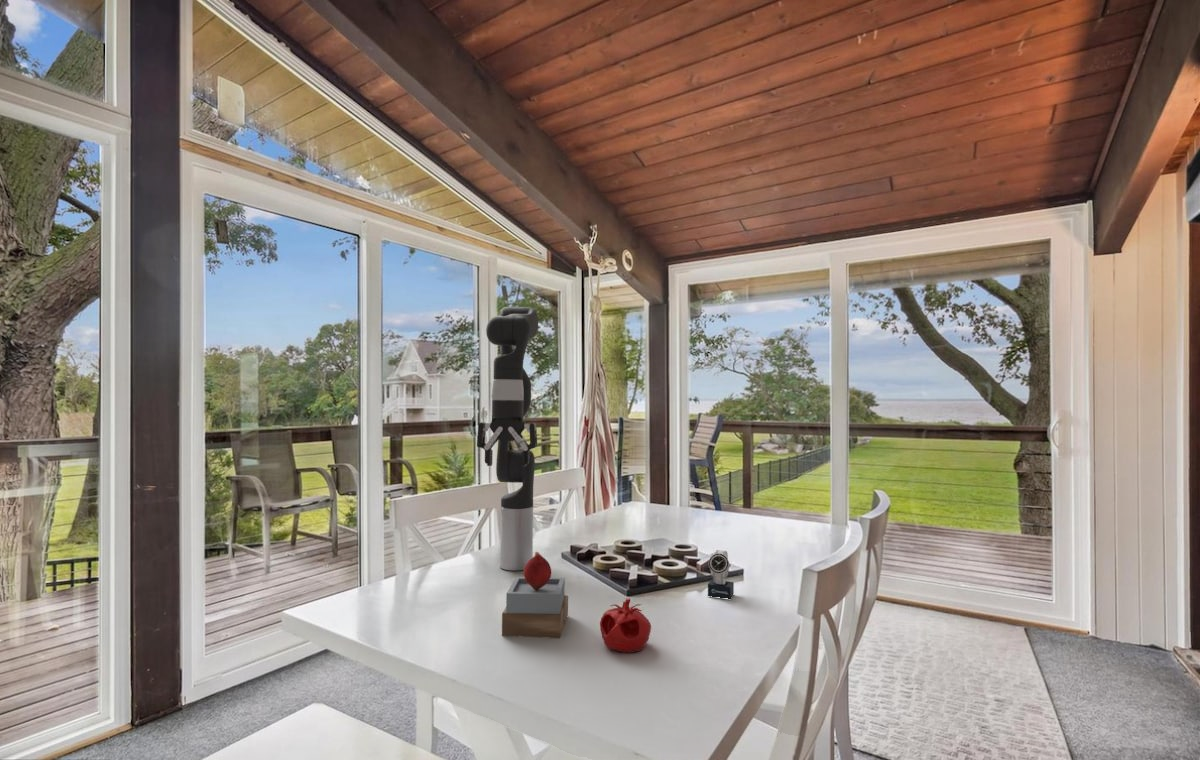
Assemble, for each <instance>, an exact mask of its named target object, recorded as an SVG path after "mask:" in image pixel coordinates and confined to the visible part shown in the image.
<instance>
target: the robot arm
mask: <svg viewBox="0 0 1200 760" xmlns="http://www.w3.org/2000/svg"><path fill="white" fill-rule="evenodd" d="M538 328H539V315H538V311H536V309H535V308H533V307H529V306H504V307H502V309H501V310H500V314H499V315H493V316H492V317H491V318H490V319H489V320H488V322H487V324H486V329H485V330H486V331H485V333H486V337H487V340H488V341H489V342H490V343H491V344H492V345H495V346H500V355H497V356H495V357H494V360H493V381H492V390H491V422H490V423H489V422H488V423H487V422H485V421H483V422H479V423H478V427H477V437H476V438H477V440H476V447H477V448H480V449H483V450H484V463H485V464H486V466H487V467H492V466H493V455H494V454H493V449H492V448H493V447H494V446H495V444H496V443H497V453H496V454H497V455H496V465H495V469H496V470H495V471H496V472H495V474H496V478H497V481H498V482H500V483H515V484H516V483H522V486H521V487H519V488H518V489H517V490H515V491H513V492H510V493H507V494H504V495H503V496H502V497H501V499H500V543H499V544H500V550H499V552H500V553H499V556H500V558H499V567H500V568H501V569H502V570H506V571H514V572H515V571H524V568H525V565H526V564H527V562H528V561H529V560H530V559H531V558H533V557H534V556H533V555H534V554H533V551H534V547H533V546H534V545H533V543H534V542H533V541H534V540H533V539H534V484H535V483H534V478H535V468H536V462H535V454H534V452H533V451H532V450H533V449H535V448H537V447H538V433H537V431H538V430H537V423H536V422H531V423H525V422H524V417H526V415H527V413H528V411H529V409H530V407H531V404H532V381H531V379H530V377H529V375H528V373H527V372H526V370H525V369H524V359H525V354H526V350H527V347H528V343H529V340H530V339H531V338H534V337H535V336H536V335H537V332H538V330H539V329H538ZM513 346H515V348H513ZM489 429H490V431H491V432H492V433H493V434H492V435H491V436H490V438H489V439H488V441H487V442H486V433H487V432H488V430H489ZM525 429H526V432H528V433H529V443H528V442H527V441H526V438H525V437H524V435H523V434H522V433H523V432H524V430H525ZM514 441H516V443H517V444H518V446H520V447H521V448H522V449H521V450H519V449H518V450H516V449H515V450H512V449H510V443H511V442H514Z"/></svg>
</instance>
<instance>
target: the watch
mask: <svg viewBox="0 0 1200 760" xmlns="http://www.w3.org/2000/svg"><path fill="white" fill-rule="evenodd" d="M708 568H709V570H710V574H711V576H712V578H711V579H710V581H709V582H708V584H707V597H708V596H712V597H720V598H728V599H731V600H732V598H733V597H732V595H733V594H734V593H735V591H734V582H733V581H728V580H727V579H728V575H729V568H732V564H731V563H729V555H728V551H727V550H719V549H718V550H717V549H716V551H714V552H713V553H712V555H711V556H710V558H709V560H708ZM733 596H734V595H733ZM731 597H732V598H731Z"/></svg>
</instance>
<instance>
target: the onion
mask: <svg viewBox="0 0 1200 760" xmlns="http://www.w3.org/2000/svg"><path fill="white" fill-rule="evenodd" d="M534 552H535V553H534V556H533V557H532V558H531V559H530V560H529V561H528V562H527V564H526V565H525V568H524V570H523V577H525V580H526V581H527V582H528V584H529V585H530V586H531V587H532V588H533V589H534V590H538V589H540V588H541V587H543V586H544V585H545V584H546V583H547V582H548V581H549V579H550V578H552V568H551V565H550V563H549V561H548V560H547V559H546V558H545V557H543V555H541V554H540V552H539V551H534Z"/></svg>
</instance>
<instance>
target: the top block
mask: <svg viewBox="0 0 1200 760" xmlns="http://www.w3.org/2000/svg"><path fill="white" fill-rule="evenodd" d="M565 581H566V579H565V577H550V579H549V581H548V582H547V583H546V584H545V585H544V586H543V587H541V588H540V589H538V590H534V589H533V588H532V587H531V586H530V585H529V584H528V582H527V581H526V580H525V577H524V576H515V578H514V579H513V581H512V583H511V584H510V586H509V588H508V590H507V592H506V596H505V597H506V603H505V604H506V605H505V606H506V607H505V608H506V613H529V614H560V612H561V608H562V604H563V600H564V596H565V594H566V591H565V590H566V588H565V586H566V585H565Z"/></svg>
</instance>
